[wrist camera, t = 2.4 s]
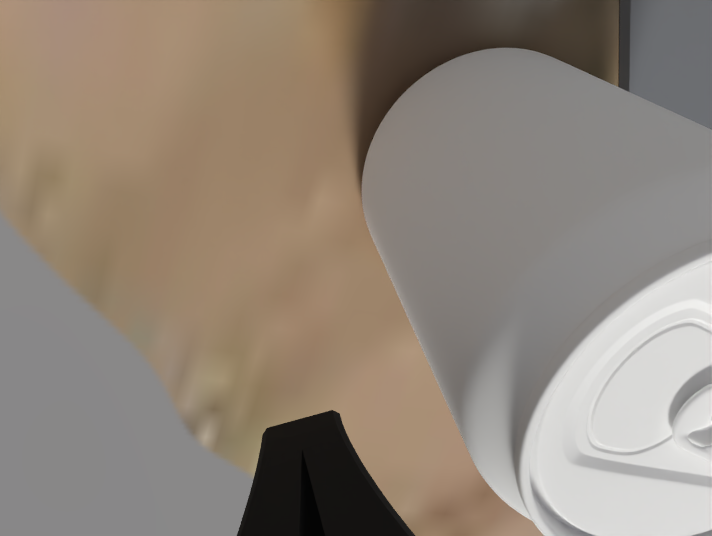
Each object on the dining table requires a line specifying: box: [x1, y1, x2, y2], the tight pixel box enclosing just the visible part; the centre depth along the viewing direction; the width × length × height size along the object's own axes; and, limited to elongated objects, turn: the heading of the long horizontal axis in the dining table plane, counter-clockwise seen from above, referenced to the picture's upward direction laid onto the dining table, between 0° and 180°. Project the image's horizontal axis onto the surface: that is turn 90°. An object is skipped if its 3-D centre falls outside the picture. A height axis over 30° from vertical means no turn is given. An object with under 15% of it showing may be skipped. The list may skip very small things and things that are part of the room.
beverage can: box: [362, 48, 712, 536], centre depth 16 cm, size 8×8×12 cm
